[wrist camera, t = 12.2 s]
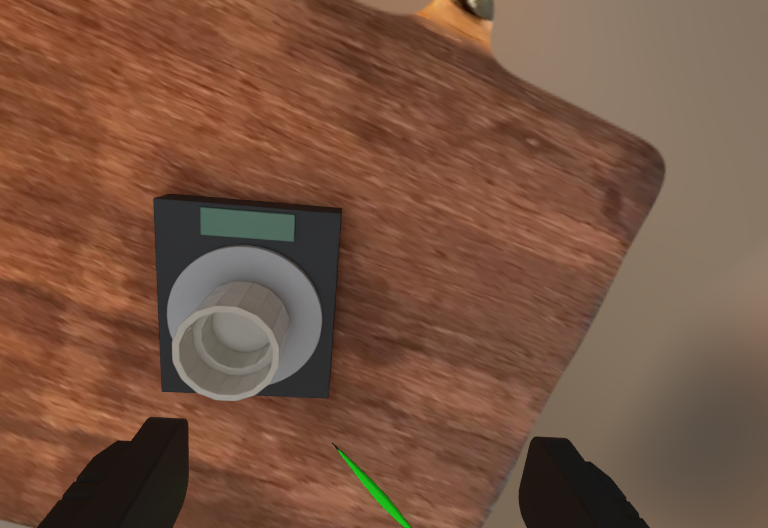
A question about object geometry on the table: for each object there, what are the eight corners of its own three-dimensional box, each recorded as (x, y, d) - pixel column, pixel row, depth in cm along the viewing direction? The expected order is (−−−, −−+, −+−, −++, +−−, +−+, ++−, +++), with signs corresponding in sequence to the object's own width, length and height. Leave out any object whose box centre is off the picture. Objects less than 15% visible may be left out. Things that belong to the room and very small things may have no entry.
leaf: (417, 542, 41) (419, 550, 40) (327, 442, 37) (327, 448, 36) (425, 537, 41) (427, 544, 40) (335, 436, 37) (335, 442, 36)
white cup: (199, 276, 29) (170, 302, 24) (292, 282, 29) (280, 309, 25) (201, 358, 30) (173, 398, 26) (288, 362, 31) (277, 402, 26)
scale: (168, 193, 30) (148, 199, 27) (342, 208, 31) (341, 215, 28) (174, 374, 34) (157, 396, 31) (329, 381, 35) (328, 403, 32)
